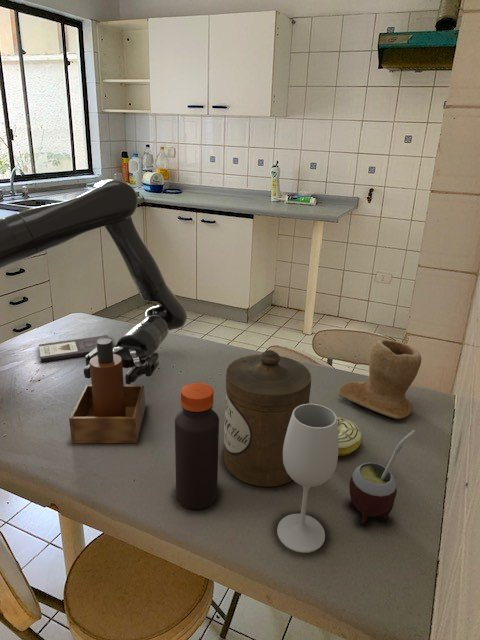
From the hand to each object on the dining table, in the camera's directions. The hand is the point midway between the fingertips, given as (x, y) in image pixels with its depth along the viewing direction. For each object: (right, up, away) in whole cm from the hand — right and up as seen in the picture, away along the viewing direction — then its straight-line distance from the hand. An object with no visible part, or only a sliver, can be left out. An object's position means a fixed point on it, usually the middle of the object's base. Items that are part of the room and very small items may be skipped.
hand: (106, 377), depth 90 cm
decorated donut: (+44, -13, +2) cm, 46 cm away
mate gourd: (+47, -20, -15) cm, 53 cm away
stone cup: (+57, -8, +15) cm, 60 cm away
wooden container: (+30, -15, -4) cm, 34 cm away
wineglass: (+35, -21, -19) cm, 45 cm away
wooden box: (0, -10, +4) cm, 11 cm away
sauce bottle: (0, -10, +4) cm, 10 cm away
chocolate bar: (-18, +3, +35) cm, 39 cm away
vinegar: (+19, -18, -13) cm, 29 cm away
